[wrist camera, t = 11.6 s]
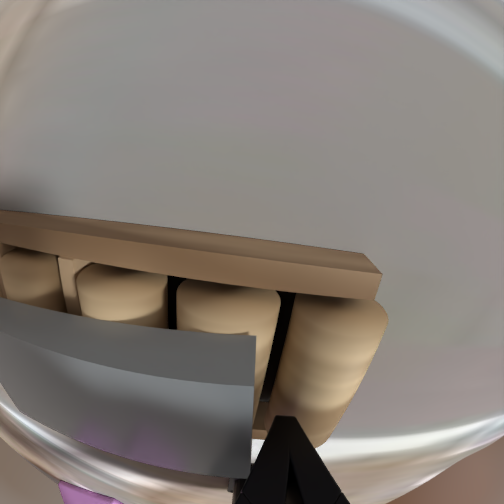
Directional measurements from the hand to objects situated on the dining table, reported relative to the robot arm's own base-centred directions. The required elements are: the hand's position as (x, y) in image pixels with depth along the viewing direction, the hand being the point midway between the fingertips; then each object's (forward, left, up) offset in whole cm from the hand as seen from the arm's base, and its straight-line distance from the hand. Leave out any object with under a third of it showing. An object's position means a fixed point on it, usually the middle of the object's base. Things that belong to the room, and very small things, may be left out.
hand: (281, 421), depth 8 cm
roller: (0, +12, -3) cm, 12 cm away
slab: (-1, +7, -1) cm, 7 cm away
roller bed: (0, +8, -4) cm, 9 cm away
